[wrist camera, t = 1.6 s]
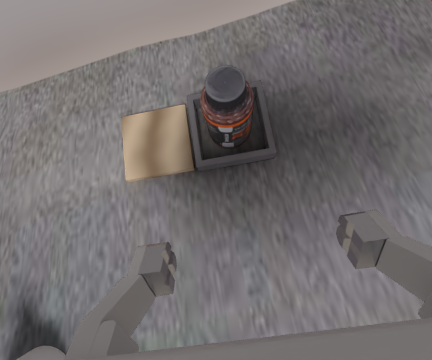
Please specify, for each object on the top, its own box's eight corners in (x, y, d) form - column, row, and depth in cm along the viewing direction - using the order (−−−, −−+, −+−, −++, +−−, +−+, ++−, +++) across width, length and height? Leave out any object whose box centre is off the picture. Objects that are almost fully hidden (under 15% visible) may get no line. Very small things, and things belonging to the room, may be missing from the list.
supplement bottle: (238, 157, 31) (236, 122, 20) (202, 138, 32) (182, 96, 21) (258, 121, 32) (267, 69, 21) (222, 105, 33) (212, 47, 22)
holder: (259, 90, 32) (261, 80, 30) (273, 158, 30) (276, 152, 28) (190, 104, 33) (186, 95, 31) (199, 171, 31) (196, 167, 29)
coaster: (186, 107, 33) (184, 104, 32) (194, 170, 31) (193, 168, 30) (124, 120, 34) (121, 117, 33) (129, 181, 32) (125, 180, 31)
